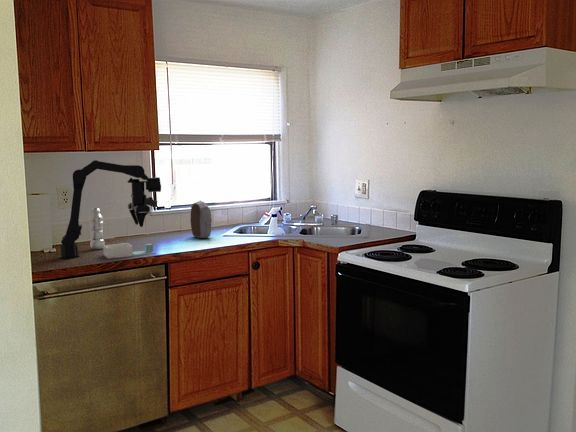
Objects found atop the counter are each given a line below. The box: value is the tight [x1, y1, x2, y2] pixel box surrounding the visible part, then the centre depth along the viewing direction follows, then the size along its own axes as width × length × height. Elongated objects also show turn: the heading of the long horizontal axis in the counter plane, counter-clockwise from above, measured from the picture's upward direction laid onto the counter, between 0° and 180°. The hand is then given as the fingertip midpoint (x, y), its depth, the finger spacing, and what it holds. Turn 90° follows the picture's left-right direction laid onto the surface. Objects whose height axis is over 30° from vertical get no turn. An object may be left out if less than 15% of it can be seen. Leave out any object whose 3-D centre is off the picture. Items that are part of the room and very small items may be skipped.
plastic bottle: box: [88, 207, 106, 250], centre depth 268 cm, size 6×7×20 cm
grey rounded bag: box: [190, 200, 213, 239], centre depth 298 cm, size 15×8×20 cm, turn 37°
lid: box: [133, 243, 156, 256], centre depth 257 cm, size 9×7×4 cm
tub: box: [102, 242, 134, 260], centre depth 252 cm, size 11×9×5 cm
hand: (139, 225), depth 259 cm, fingers open, 9 cm apart
